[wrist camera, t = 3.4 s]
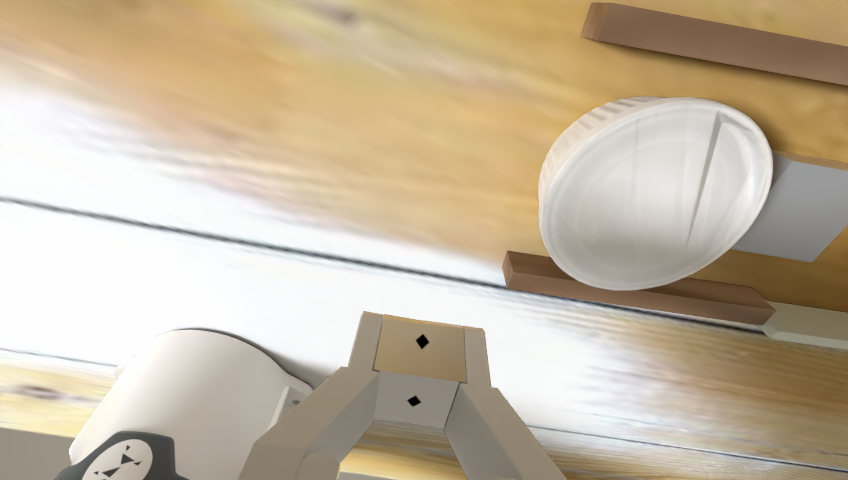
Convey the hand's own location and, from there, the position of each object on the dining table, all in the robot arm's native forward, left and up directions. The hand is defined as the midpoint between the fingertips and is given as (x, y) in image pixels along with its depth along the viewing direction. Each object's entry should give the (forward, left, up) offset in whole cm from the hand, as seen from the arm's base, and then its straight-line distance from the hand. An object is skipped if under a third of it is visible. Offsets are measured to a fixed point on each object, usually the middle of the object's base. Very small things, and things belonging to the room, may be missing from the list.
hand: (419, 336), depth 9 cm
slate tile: (0, -23, -16) cm, 28 cm away
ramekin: (0, -12, -16) cm, 20 cm away
